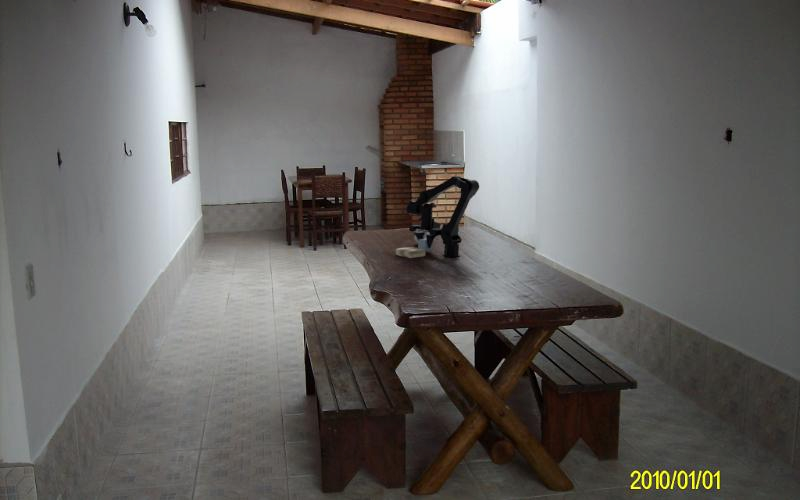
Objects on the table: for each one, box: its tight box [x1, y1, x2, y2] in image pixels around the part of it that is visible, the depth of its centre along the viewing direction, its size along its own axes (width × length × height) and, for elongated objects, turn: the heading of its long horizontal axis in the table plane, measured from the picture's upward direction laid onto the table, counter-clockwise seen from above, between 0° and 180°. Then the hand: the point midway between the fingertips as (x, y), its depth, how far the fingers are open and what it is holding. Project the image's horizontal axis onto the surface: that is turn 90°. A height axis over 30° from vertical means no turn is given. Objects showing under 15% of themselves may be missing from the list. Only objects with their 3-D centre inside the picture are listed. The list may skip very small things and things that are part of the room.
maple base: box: [395, 246, 426, 259], centre depth 352 cm, size 10×10×3 cm
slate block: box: [417, 238, 434, 252], centre depth 361 cm, size 5×5×5 cm
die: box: [413, 232, 429, 245], centre depth 383 cm, size 8×9×10 cm
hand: (425, 247), depth 361 cm, fingers closed on slate block, 5 cm apart
